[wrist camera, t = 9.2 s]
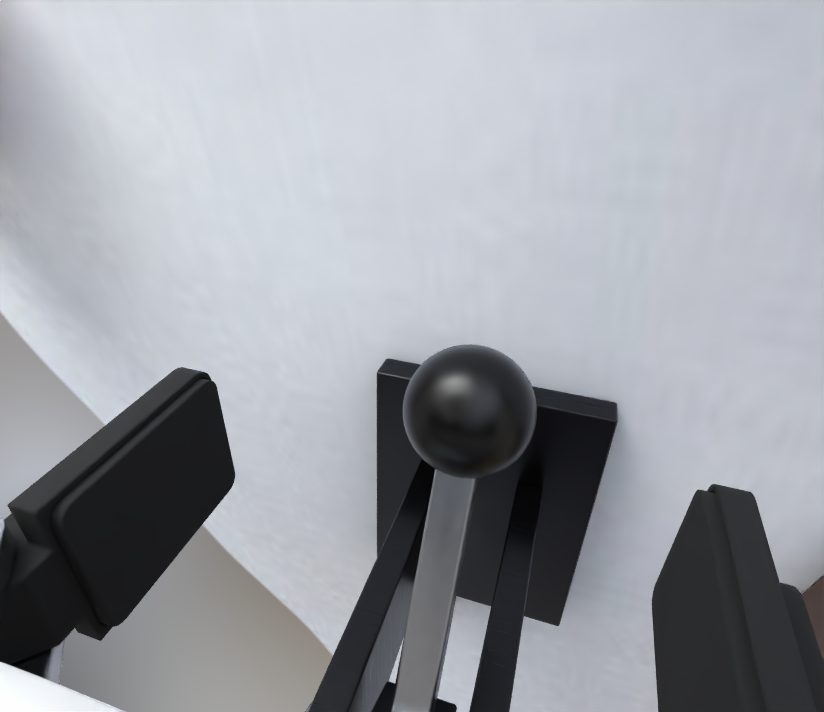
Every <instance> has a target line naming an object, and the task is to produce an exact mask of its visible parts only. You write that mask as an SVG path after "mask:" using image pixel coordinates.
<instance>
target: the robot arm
mask: <svg viewBox="0 0 824 712" xmlns="http://www.w3.org/2000/svg"><path fill="white" fill-rule="evenodd" d="M234 480H235V471H234V466H233V461H232V457H231V452H230V447H229V443H228V438H227V433H226V429H225V424H224V419H223V414H222V410H221V405H220V400H219V396H218V391H217V387H216V384H215V383H214V382H213V381H211V378H210V376H209V375H208V374H207V373H205V372H201V371H197V370H192V369H187V368H183V367H181V368H177V369H175V370H174V371H172V372H171V373H170V374H169V375H167V376H166V377H165V378H164V379H162V380H161V381H160V382H159V383H158V384H156V385H155V386H154V387H153V388H151V389H150V390H149V391H148V392H146V393H145V394H144V395H143V396H141V397H140V398H139V399H138V400H137V401H135V402H134V403H133V404H132V405H130V406H129V407H128V408H127V409H125V410H124V411H123V412H122V413H120V414H119V415H118V416H117V417H116V418H114V419H113V420H112V421H111V422H109V423H108V424H107V425H106V426H104V427H103V428H102V429H101V430H99V431H98V432H97V433H96V434H94V435H93V436H92V437H91V438H90V439H88V440H87V441H86V442H85V443H83V444H82V445H81V446H80V447H78V448H77V449H76V450H75V451H73V452H72V453H71V454H70V455H69V456H67V457H66V458H65V459H64V460H63V461H61V462H60V463H59V464H57V465H56V466H55V467H54V468H52V469H51V470H50V471H49V472H48V473H46V474H45V475H44V476H43V477H41V478H40V479H39V480H38V481H37V482H35V483H34V484H33V485H31V486H30V487H29V488H28V489H27V490H25V491H24V492H23V493H22V494H20V495H19V496H18V497H17V498H15V499H14V500H13V501H12V502H10V503H9V504H8V507H9V509H10V511H11V513H12V514H11V515H9V516H8V517H7V518H6V519H4V520H3V518H2V517H1V515H0V712H125V711H123V710H120V709H118V708H115V707H113V706H110V705H108V704H105V703H103V702H101V701H98V700H96V699H93V698H91V697H88V696H86V695H83V694H81V693H79V692H76V691H73V690H71V689H69V688H66V687H64V686H61V685H60V677H61V670H62V661H63V653H64V645H65V638H66V637H67V636H68V635H69V634H70V632H71V631H72V630H73V629H74V628H76V630H77V631H78V632H79V633H81V634H84V635H87V636H90V637H92V638H95V639H97V640H100V641H101V640H102V639H103V638H104V636H105V635H106V634H107V633H108V632H109V630H110V629H111V628H112V627H113V626H117V625H119V624H121V623H122V622H123V621H124V620H125V619H126V618H127V617H128V616H129V614H130V613H131V612H132V611H133V609H134V608H135V607H136V606H137V604H138V603H139V602H140V601H141V599H142V598H143V597H144V596H145V595H146V593H147V592H148V591H149V590H150V588H151V587H152V586H153V585H154V583H155V582H156V581H157V580H158V578H159V577H160V576H161V575H162V573H163V572H164V571H165V570H166V569H167V567H168V566H169V565H170V563H171V562H172V561H173V560H174V559H175V557H176V556H177V555H178V553H179V552H180V551H181V550H182V549H183V547H184V546H185V545H186V544H187V542H188V541H189V540H190V539H191V537H192V536H193V535H194V534H195V533H196V531H197V530H198V529H199V528H200V526H201V525H202V524H203V523H204V521H205V520H206V519H207V518H208V517H209V515H210V514H211V513H212V512H213V510H214V509H215V508H216V507H217V505H218V504H219V503H220V502H221V500H222V499H223V498H224V497H225V495H226V494H227V493H228V492H229V490H230V489H231V487H232V485H233V483H234ZM652 615H653V631H654V647H655V663H656V679H657V695H658V711H659V712H824V661H823V658H822V655H821V652H820V649H819V645H818V642H817V639H816V636H815V633H814V630H813V627H812V624H811V621H810V618H809V614H808V611H807V608H806V605H805V602H804V600H803V598H802V596H801V594H800V592H799V591H798V590H797V589H796V588H795V587H793V586H790V585H787V584H783V583H779V579H778V576H777V572H776V569H775V565H774V562H773V558H772V555H771V551H770V548H769V545H768V541H767V538H766V534H765V531H764V527H763V524H762V520H761V517H760V513H759V510H758V507H757V503H756V500H755V497H754V495H753V494H752V493H751V492H748V491H744V490H739V489H734V488H730V487H725V486H721V485H716V484H712V485H711V486H710V487H709V489H708V491H703V490H697V491H696V493H695V494H694V497H693V499H692V501H691V503H690V506H689V508H688V510H687V513H686V515H685V517H684V520H683V522H682V524H681V527H680V529H679V531H678V533H677V536H676V538H675V540H674V543H673V545H672V547H671V550H670V552H669V554H668V556H667V559H666V561H665V563H664V566H663V568H662V570H661V573H660V575H659V577H658V580H657V582H656V584H655V587H654V591H653V597H652Z"/></svg>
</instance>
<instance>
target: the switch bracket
mask: <svg viewBox="0 0 824 712" xmlns="http://www.w3.org/2000/svg"><path fill="white" fill-rule="evenodd" d="M420 366H421V365H419V364H413V363H408V362H403V361H398V360H393V359H386V360H385V362H384V363H383V365H382V366H381V368H380V369H379V370H378V372H377V559H376V562H375V564H374V566H373V568H372V571H371V573H370V575H369V577H368V579H367V582H366V584H365V586H364V588H363V591H362V593H361V595H360V597H359V600H358V602H357V604H356V606H355V608H354V611H353V613H352V615H351V617H350V620H349V622H348V624H347V626H346V629H345V631H344V633H343V635H342V637H341V640H340V642H339V644H338V646H337V649H336V651H335V653H334V655H333V657H332V660H331V662H330V664H329V666H328V669H327V671H326V673H325V675H324V678H323V680H322V682H321V684H320V686H319V689H318V691H317V693H316V695H315V698H314V700H313V702H312V703H311V704H310V705H309V706H308V708H307V709H306V711H305V712H371V711H372V709H373V707H374V705H375V703H376V701H377V699H378V697H379V695H380V693H381V692H382V690H383V688H384V686H385V684H386V682H388V681H389V678H390V675H391V672H392V669H393V666H394V663H395V660H396V658H397V655H398V652H399V649H400V646H401V643H402V640H403V637H404V634H405V630H406V624H407V619H408V613H409V608H410V603H411V597H412V592H413V587H414V581H415V576H416V570H417V565H418V560H419V554H420V549H421V543H422V538H423V533H424V527H425V522H426V517H427V511H428V506H429V500H430V495H431V490H432V484H433V479H434V473H435V468H433V467H432V466H430V465H429V464H428V463H427V462H425V461H424V460H423V459H422V458H421V457H420V456H419V454H418V453H417V452H416V450H415V449H414V448H413V446H412V444H411V442H410V441H409V438H408V436H407V433H406V430H405V426H404V421H403V401H404V396H405V392H406V389H407V386H408V384H409V382H410V380H411V378H412V376H413V375H414V373H415V372H416V371H417V369H418V368H419V367H420ZM532 388H533V391H534V394H535V398H536V404H537V421H536V427H535V431H534V434H533V437H532V439H531V441H530V443H529V445H528V447H527V448H526V450H525V451H524V453H523V454H522V455H521V456H520V457H519V458H518V459H517V460H516V461H515V462H514V463H513V464H512V465H511V466H509V467H508V468H506V469H505V470H503V471H501V472H499V473H497V474H494V475H492V476H488V477H484V478H478V484H477V489H476V494H475V500H474V505H473V510H472V515H471V521H470V526H469V531H468V537H467V542H466V547H465V553H464V558H463V563H462V569H461V574H460V579H459V585H458V590H457V595H456V596H458V597H461V598H465V599H468V600H472V601H475V602H478V603H482V604H485V605H488V606H491V611H490V616H489V620H488V625H487V630H486V635H485V640H484V644H483V649H482V654H481V659H480V663H479V668H478V673H477V678H476V683H475V687H474V692H473V697H472V702H471V706H470V711H469V712H509V710H510V703H511V697H512V690H513V683H514V677H515V670H516V663H517V657H518V650H519V643H520V637H521V630H522V623H523V617H524V616H525V617H529V618H532V619H535V620H539V621H542V622H546V623H549V624H552V625H556V626H559V624H560V621H561V618H562V614H563V611H564V607H565V604H566V600H567V597H568V593H569V590H570V586H571V583H572V579H573V576H574V572H575V569H576V565H577V562H578V558H579V555H580V551H581V548H582V544H583V541H584V537H585V534H586V530H587V527H588V523H589V520H590V516H591V513H592V510H593V506H594V503H595V499H596V496H597V492H598V489H599V485H600V482H601V478H602V475H603V471H604V468H605V464H606V461H607V457H608V454H609V450H610V447H611V443H612V440H613V436H614V433H615V429H616V426H617V422H618V412H617V403H615V402H609V401H604V400H599V399H594V398H589V397H584V396H578V395H573V394H568V393H563V392H558V391H553V390H547V389H542V388H537V387H532Z"/></svg>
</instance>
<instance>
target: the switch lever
mask: <svg viewBox="0 0 824 712" xmlns="http://www.w3.org/2000/svg"><path fill="white" fill-rule="evenodd" d="M403 421H404V426H405V430H406V433H407V436H408V438H409V441H410V442H411V444H412V446H413V448H414V449H415V450H416V452H417V453H418V454H419V456H420V457H421V458H422V459H423V460H424V461H425V462H427V463H428V464H429V465H430V466H432V467H433V468H435V473H434V479H433V484H432V490H431V495H430V500H429V506H428V511H427V517H426V522H425V527H424V533H423V538H422V543H421V549H420V554H419V560H418V565H417V570H416V576H415V581H414V587H413V592H412V597H411V603H410V608H409V613H408V619H407V624H406V630H405V635H404V640H403V646H402V651H401V657H400V662H399V667H398V673H397V678H396V683H395V684H394V683H392V682H386V684H385V686H384V688H383V690H382V692H381V693H380V695H379V697H378V699H377V701H376V703H375V705H374V707H373V709H372V711H371V712H456V710H457V707H456V705H455V704H452V703H449V702H446V701H443V700H440V699H438V698H437V696H438V691H439V686H440V680H441V675H442V670H443V664H444V659H445V654H446V648H447V643H448V638H449V632H450V627H451V622H452V617H453V611H454V606H455V601H456V595H457V590H458V585H459V579H460V574H461V569H462V563H463V558H464V553H465V547H466V542H467V537H468V531H469V526H470V521H471V515H472V510H473V505H474V500H475V494H476V489H477V484H478V478H484V477H488V476H492V475H494V474H497V473H499V472H501V471H503V470H505V469H506V468H508V467H509V466H511V465H512V464H513V463H514V462H515V461H516V460H517V459H518V458H519V457H520V456H521V455H522V454H523V453H524V451H525V450H526V448H527V447H528V445H529V443H530V441H531V439H532V437H533V434H534V431H535V427H536V421H537V404H536V398H535V394H534V391H533V388H532V386H531V384H530V381H529V380H528V378H527V376H526V375H525V373H524V372H523V371H522V369H521V368H520V367H519V366H518V365H517V364H516V363H515V362H514V361H513V360H512V359H510V358H509V357H507V356H506V355H504V354H503V353H501V352H499V351H497V350H494V349H492V348H489V347H485V346H481V345H459V346H453V347H450V348H447V349H444V350H442V351H440V352H438V353H436V354H434V355H433V356H431V357H430V358H428V359H427V360H426V361H425V362H424V363H423V364H422V365H421V366H420V367H419V368H418V369H417V371H416V372H415V373H414V375H413V376H412V378H411V380H410V382H409V384H408V386H407V389H406V392H405V396H404V401H403Z"/></svg>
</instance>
